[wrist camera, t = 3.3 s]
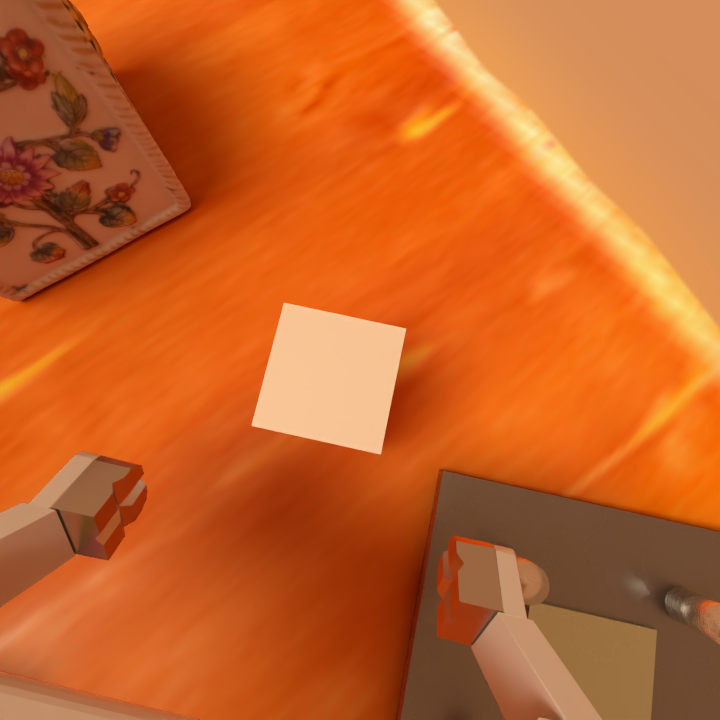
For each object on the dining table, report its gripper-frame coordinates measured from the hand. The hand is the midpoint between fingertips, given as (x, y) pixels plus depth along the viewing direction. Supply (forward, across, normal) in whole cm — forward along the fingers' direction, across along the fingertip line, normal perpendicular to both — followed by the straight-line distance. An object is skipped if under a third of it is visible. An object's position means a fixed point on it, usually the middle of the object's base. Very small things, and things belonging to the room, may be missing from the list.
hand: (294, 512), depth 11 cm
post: (+11, 0, -6) cm, 12 cm away
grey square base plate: (+3, +14, -12) cm, 19 cm away
